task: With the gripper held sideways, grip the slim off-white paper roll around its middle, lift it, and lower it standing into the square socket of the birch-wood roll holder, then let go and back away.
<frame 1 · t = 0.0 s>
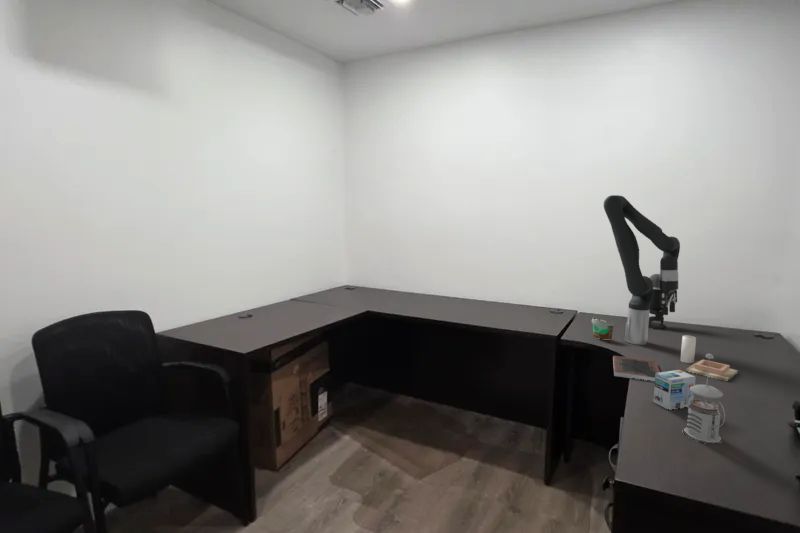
hand: (668, 313, 208), 17 cm above the table, tool pointing down, fingers open, 8 cm apart
picture frame: (635, 371, 183), on the table
food container: (599, 338, 227), on the table
roll holder: (711, 372, 180), on the table
paper roll: (687, 361, 193), on the table
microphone: (654, 327, 249), on the table
french press: (704, 437, 129), on the table
light bulb box: (672, 405, 151), on the table
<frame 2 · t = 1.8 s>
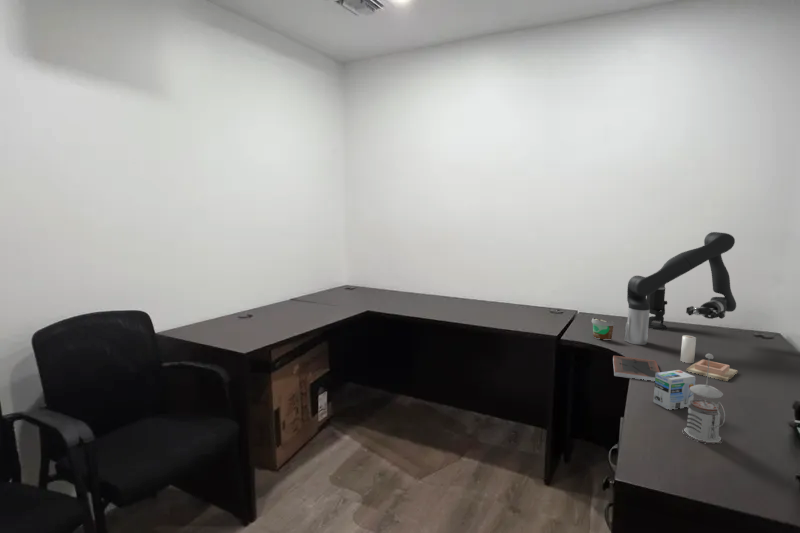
hand: (700, 314, 198), 19 cm above the table, tool horizontal, fingers open, 8 cm apart
nothing on the table moved.
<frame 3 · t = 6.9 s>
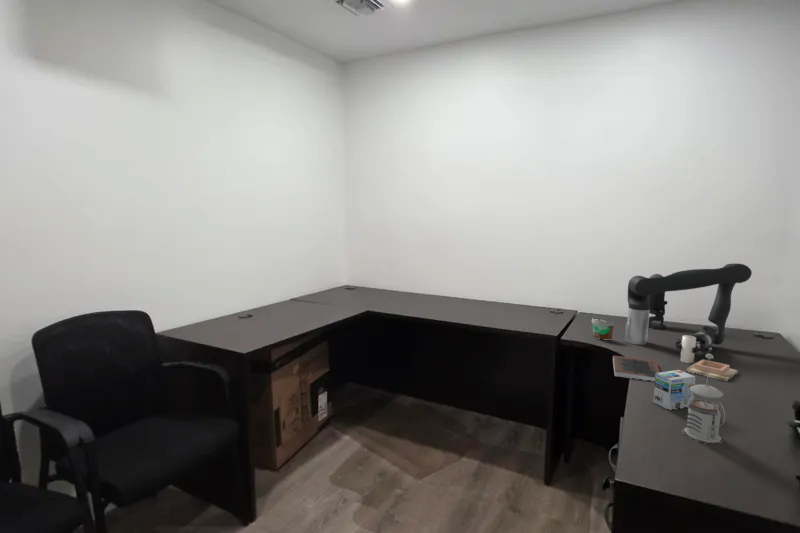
hand: (686, 349, 190), 6 cm above the table, tool horizontal, fingers closed on paper roll, 5 cm apart
paper roll: (687, 361, 193), on the table, touching gripper
everything else where it was.
when the fingers open (8 cm above the table, at t = 12.2 s): paper roll drops 1 cm, resting on roll holder.
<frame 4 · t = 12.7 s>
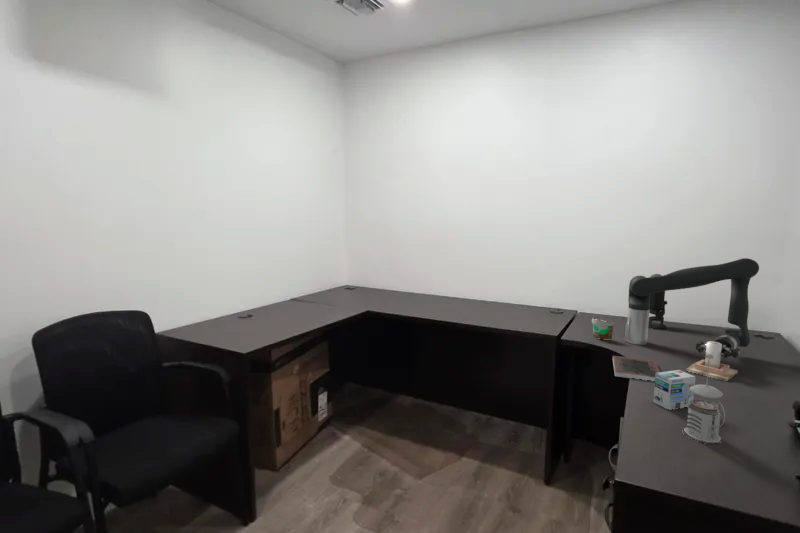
hand: (712, 353, 178), 8 cm above the table, tool horizontal, fingers open, 8 cm apart
paper roll: (711, 369, 180), point 1 cm above the table, touching roll holder
everything else where it was.
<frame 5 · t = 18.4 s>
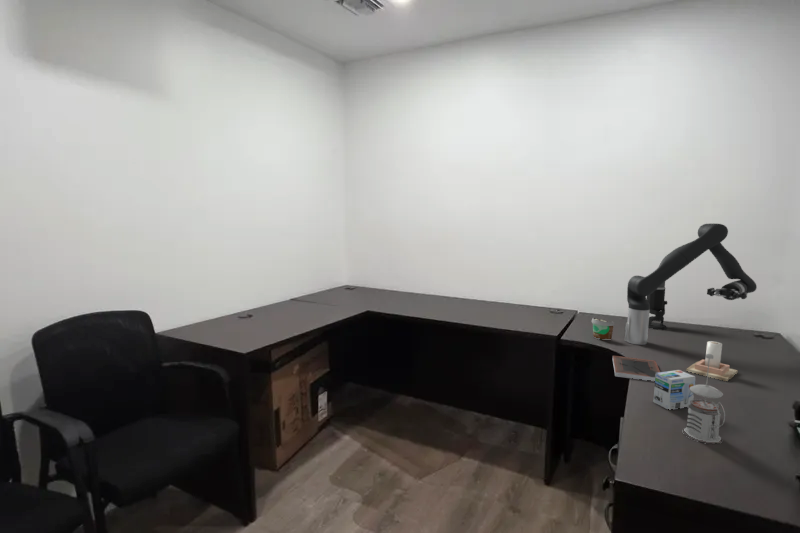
hand: (722, 295, 196), 28 cm above the table, tool horizontal, fingers open, 8 cm apart
nothing on the table moved.
at the end: paper roll 0.1 cm off-centre on the roll holder, point 1.3 cm above the roll holder's base; paper roll tilted 2°; the gripper is holding nothing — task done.
